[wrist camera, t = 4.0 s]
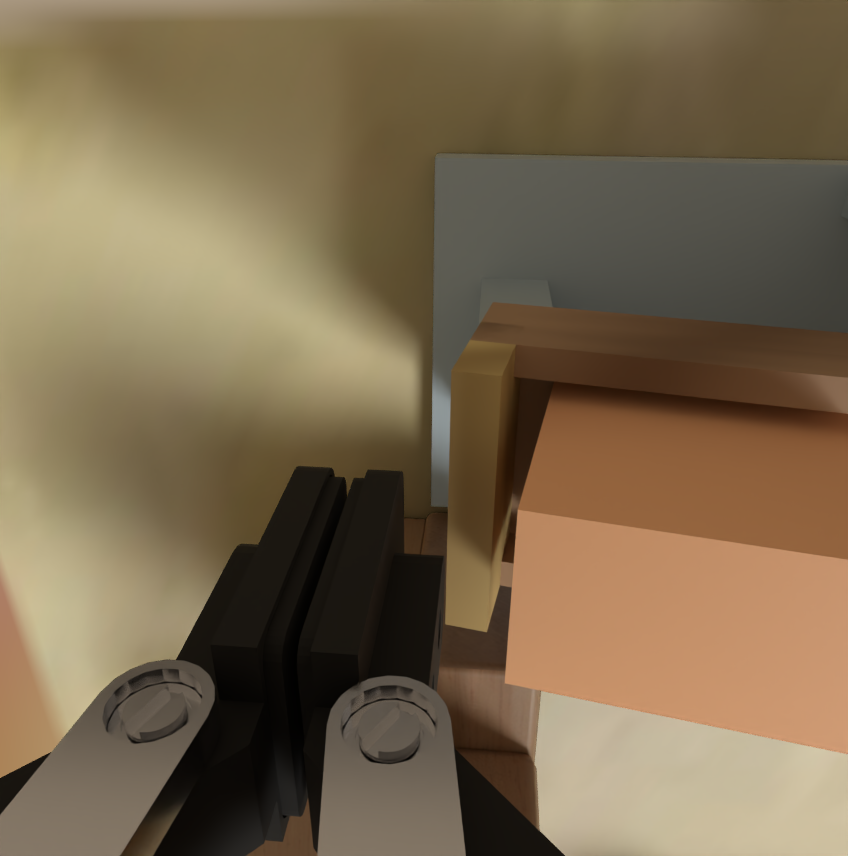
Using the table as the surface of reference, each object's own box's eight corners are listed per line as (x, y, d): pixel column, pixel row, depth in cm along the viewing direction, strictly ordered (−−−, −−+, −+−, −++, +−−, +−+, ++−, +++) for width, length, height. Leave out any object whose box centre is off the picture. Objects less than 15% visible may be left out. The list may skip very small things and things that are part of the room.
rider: (849, 412, 13) (935, 572, 9) (803, 562, 14) (861, 756, 10) (554, 379, 14) (517, 509, 10) (541, 521, 15) (504, 683, 11)
